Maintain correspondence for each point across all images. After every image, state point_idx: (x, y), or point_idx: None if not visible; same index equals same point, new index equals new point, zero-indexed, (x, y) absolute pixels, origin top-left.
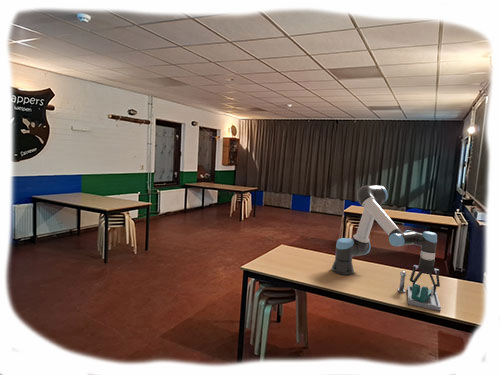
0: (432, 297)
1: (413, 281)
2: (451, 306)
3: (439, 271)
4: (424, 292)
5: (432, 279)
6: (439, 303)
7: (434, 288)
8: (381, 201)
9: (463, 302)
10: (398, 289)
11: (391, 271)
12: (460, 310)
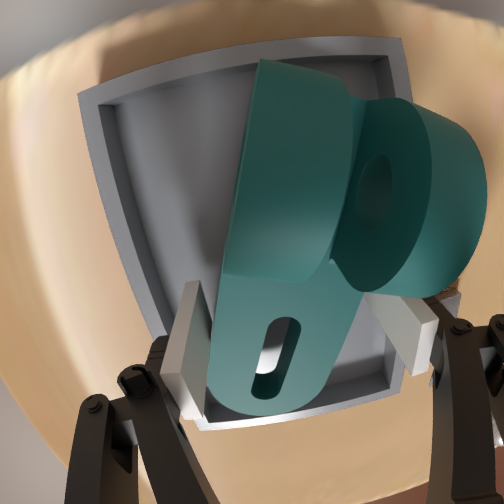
0: (185, 284)
1: (474, 331)
2: (61, 283)
3: None
4: (270, 61)
5: (175, 494)
6: (100, 186)
7: (158, 371)
8: None
9: (54, 384)
10: (455, 309)
11: (417, 470)
12: (10, 253)
